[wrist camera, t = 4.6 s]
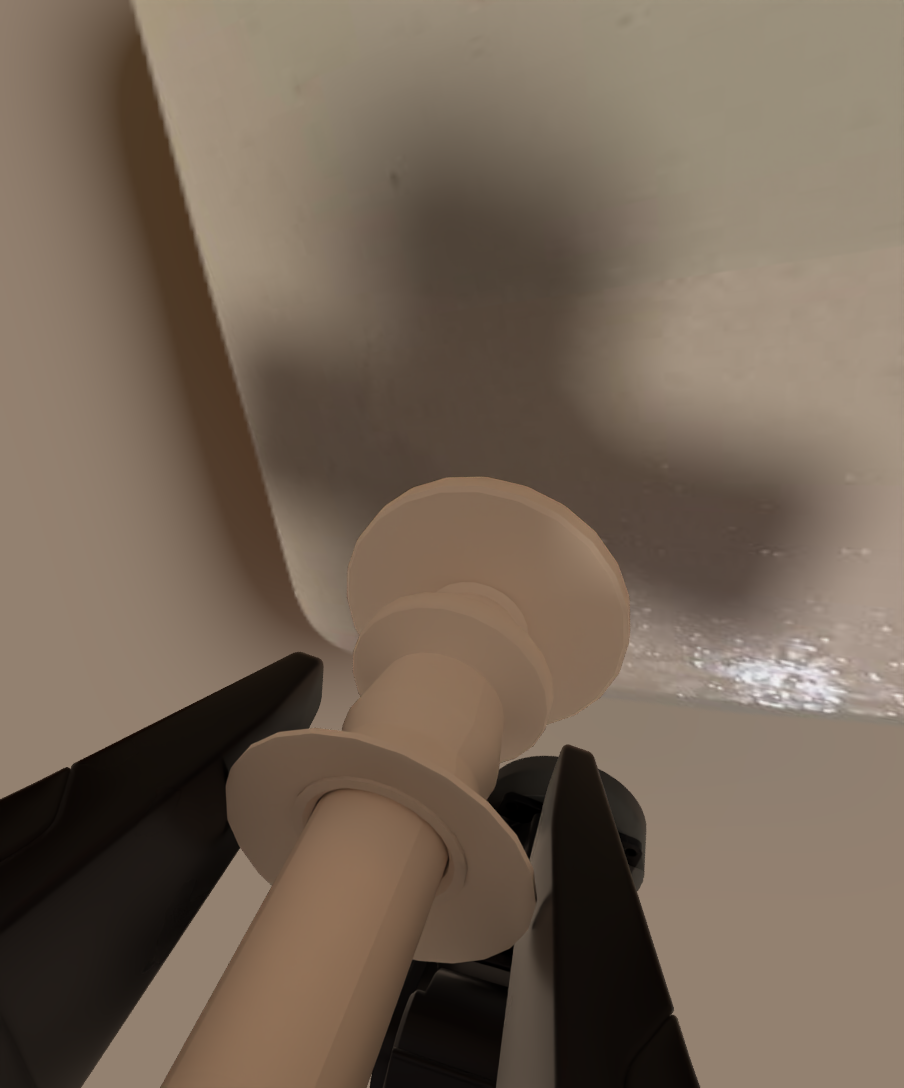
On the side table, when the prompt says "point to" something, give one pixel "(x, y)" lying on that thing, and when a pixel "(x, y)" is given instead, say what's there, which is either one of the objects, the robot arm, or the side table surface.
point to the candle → (407, 779)
